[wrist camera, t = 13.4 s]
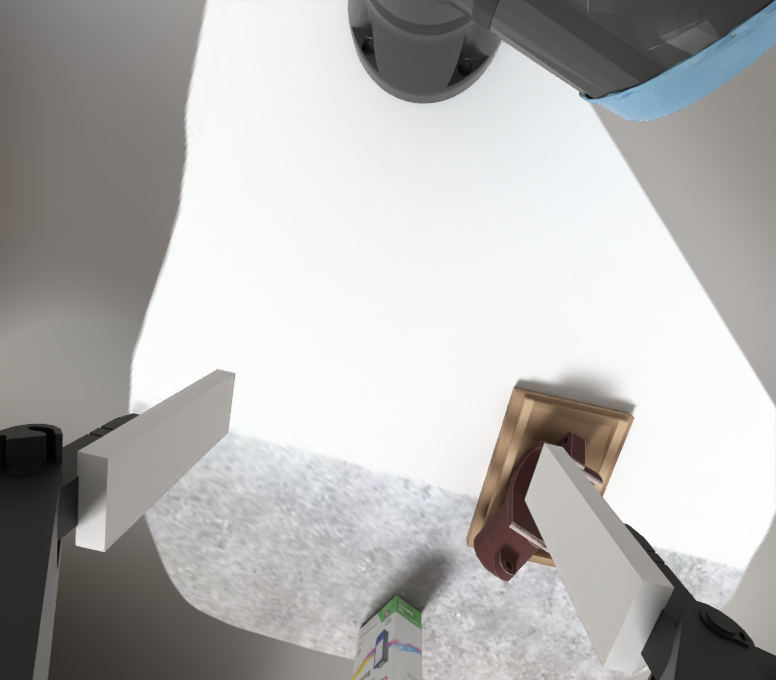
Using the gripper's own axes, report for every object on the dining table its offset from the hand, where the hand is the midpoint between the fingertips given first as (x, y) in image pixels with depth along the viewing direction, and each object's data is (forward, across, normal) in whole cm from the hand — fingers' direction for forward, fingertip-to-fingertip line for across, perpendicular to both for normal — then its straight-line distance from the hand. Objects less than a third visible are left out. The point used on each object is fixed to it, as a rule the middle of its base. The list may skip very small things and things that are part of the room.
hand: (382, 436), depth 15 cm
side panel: (+29, +22, -16) cm, 40 cm away
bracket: (+27, +18, -16) cm, 36 cm away
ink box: (+29, +8, -43) cm, 52 cm away
